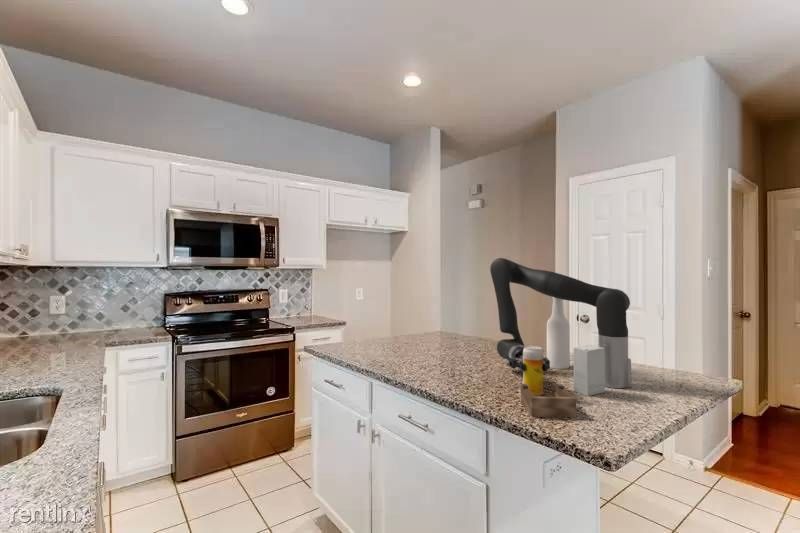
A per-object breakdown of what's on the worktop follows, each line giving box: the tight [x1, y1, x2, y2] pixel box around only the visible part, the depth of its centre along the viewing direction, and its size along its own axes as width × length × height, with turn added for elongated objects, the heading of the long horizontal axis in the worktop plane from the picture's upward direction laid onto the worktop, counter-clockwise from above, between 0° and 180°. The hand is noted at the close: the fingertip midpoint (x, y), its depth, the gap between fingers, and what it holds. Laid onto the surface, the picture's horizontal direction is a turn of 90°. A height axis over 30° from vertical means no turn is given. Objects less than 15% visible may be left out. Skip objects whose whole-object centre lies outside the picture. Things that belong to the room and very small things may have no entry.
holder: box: [520, 383, 577, 418], centre depth 118 cm, size 12×12×6 cm
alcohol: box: [546, 297, 571, 370], centre depth 169 cm, size 9×9×30 cm
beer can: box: [522, 345, 544, 397], centre depth 132 cm, size 6×6×15 cm
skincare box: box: [573, 344, 606, 397], centre depth 134 cm, size 8×6×15 cm
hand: (535, 368), depth 130 cm, fingers closed on beer can, 6 cm apart
